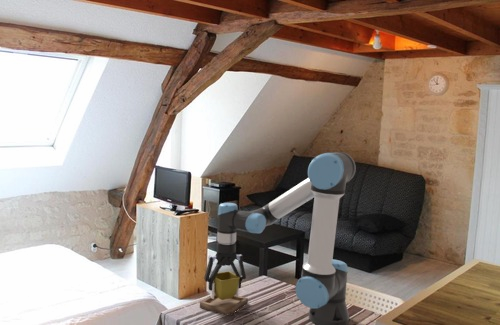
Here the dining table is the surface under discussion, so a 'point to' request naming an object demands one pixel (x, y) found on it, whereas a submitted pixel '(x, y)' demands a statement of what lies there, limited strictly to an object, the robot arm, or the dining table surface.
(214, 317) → the dining table surface
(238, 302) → the walnut tray
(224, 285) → the flower pot
